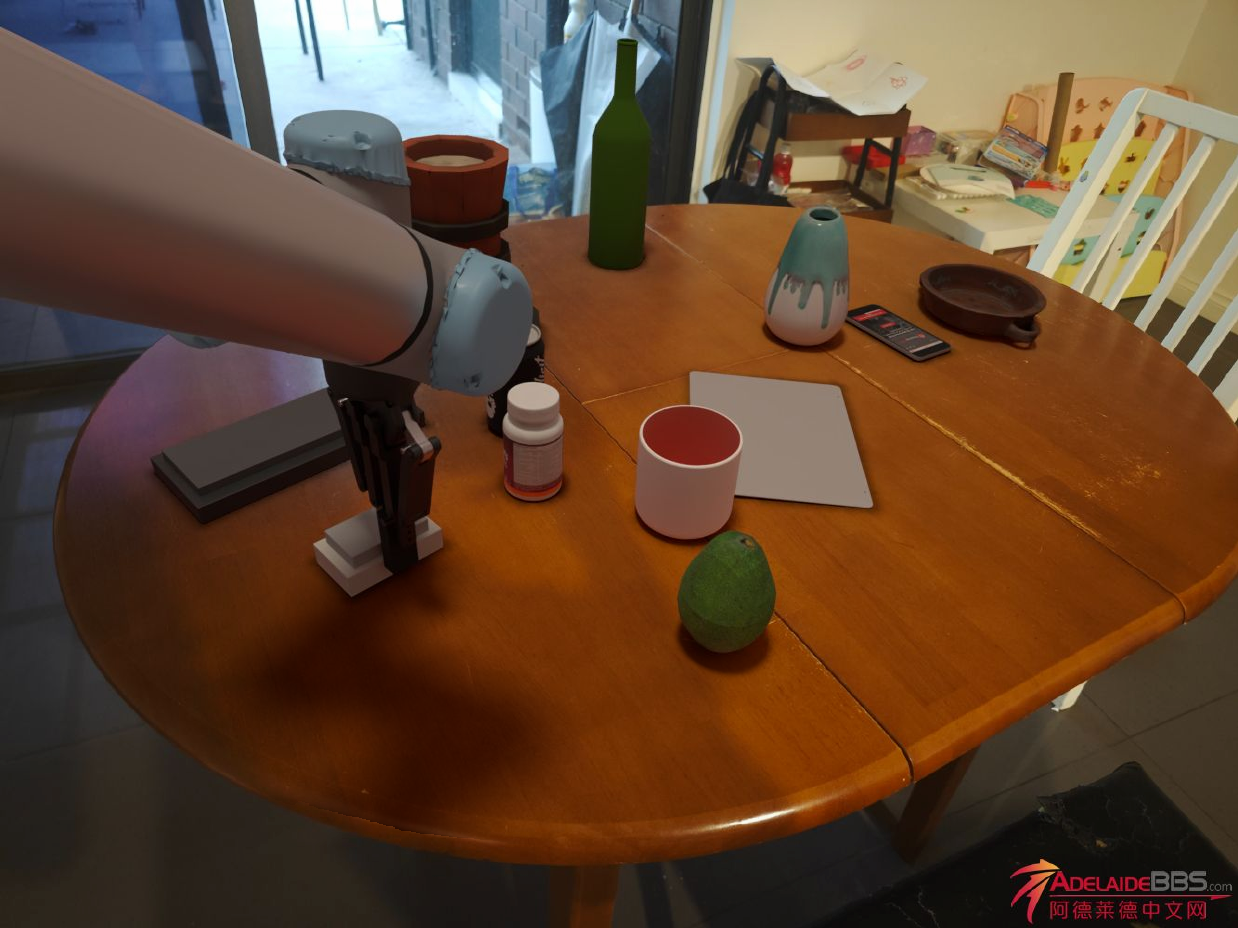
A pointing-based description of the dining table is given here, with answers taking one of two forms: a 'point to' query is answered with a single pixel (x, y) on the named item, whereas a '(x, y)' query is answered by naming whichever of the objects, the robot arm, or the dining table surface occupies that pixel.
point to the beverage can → (518, 379)
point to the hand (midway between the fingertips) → (401, 563)
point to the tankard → (460, 192)
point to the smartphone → (897, 332)
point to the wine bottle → (620, 171)
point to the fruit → (727, 593)
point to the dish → (983, 300)
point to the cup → (687, 470)
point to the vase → (811, 280)
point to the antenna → (788, 438)
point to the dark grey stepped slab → (255, 456)
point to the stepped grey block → (366, 550)
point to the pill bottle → (533, 442)
